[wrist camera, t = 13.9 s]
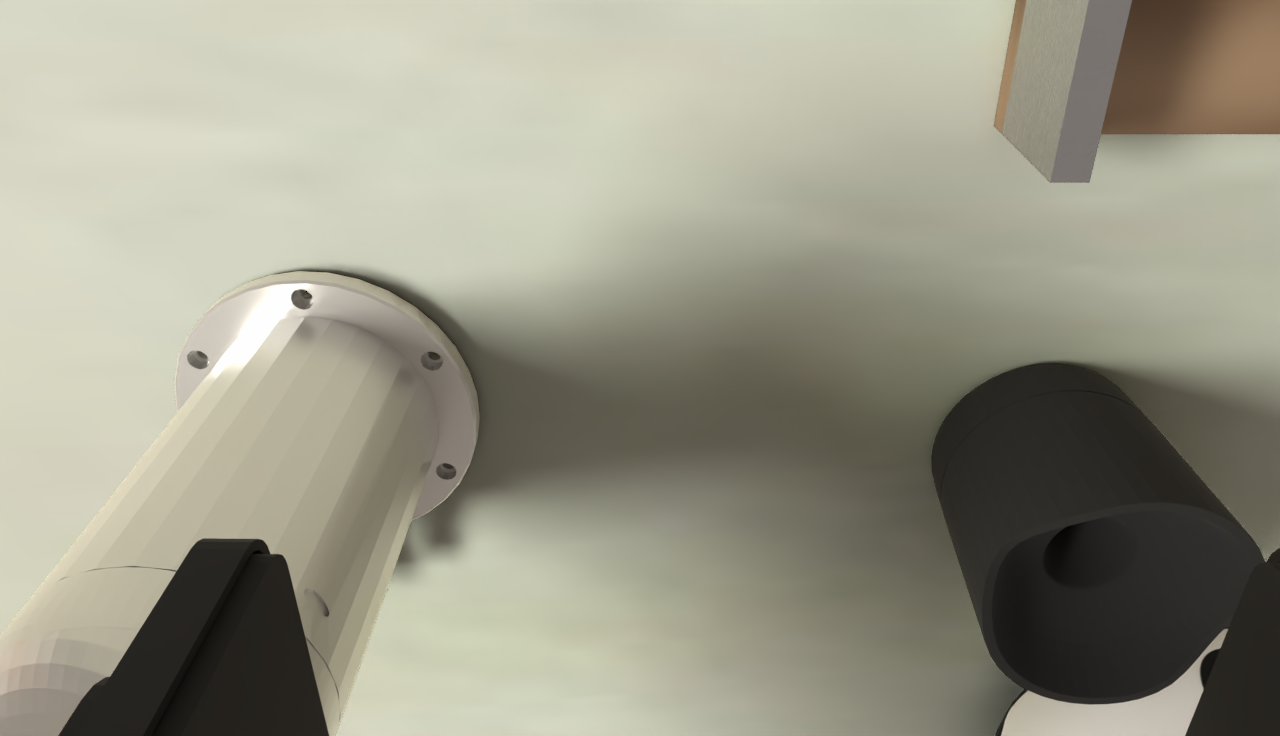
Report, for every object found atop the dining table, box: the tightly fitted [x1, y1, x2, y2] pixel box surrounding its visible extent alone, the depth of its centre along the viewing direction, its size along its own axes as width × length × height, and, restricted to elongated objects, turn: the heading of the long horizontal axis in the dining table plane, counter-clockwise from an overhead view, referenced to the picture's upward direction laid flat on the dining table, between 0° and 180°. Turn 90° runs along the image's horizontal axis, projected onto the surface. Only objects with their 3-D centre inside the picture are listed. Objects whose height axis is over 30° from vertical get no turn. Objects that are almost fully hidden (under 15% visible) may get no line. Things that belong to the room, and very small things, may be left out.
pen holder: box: [932, 364, 1265, 705], centre depth 38 cm, size 9×9×10 cm
